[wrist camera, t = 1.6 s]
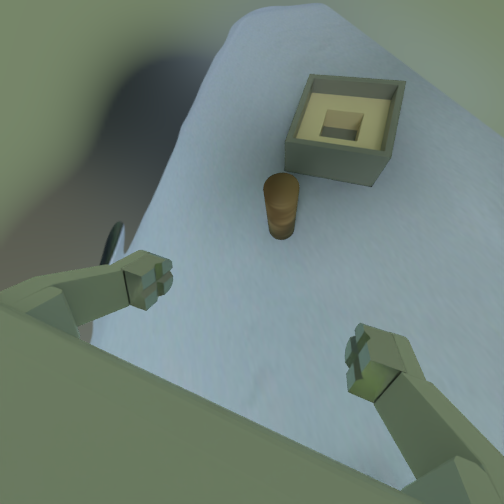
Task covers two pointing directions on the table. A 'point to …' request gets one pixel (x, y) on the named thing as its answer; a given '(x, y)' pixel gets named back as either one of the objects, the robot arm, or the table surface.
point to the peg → (281, 204)
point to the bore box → (344, 128)
